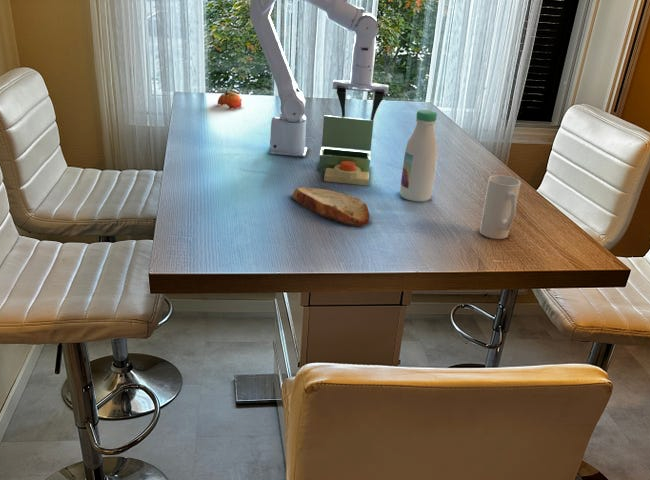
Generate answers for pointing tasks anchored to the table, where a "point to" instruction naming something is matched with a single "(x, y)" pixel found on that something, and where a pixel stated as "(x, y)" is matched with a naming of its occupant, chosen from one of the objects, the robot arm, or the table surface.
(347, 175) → the switch block
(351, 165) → the switch
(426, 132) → the milk bottle
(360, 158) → the box
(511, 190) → the mug
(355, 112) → the table surface
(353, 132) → the lid
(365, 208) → the bread slice
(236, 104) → the tomato
